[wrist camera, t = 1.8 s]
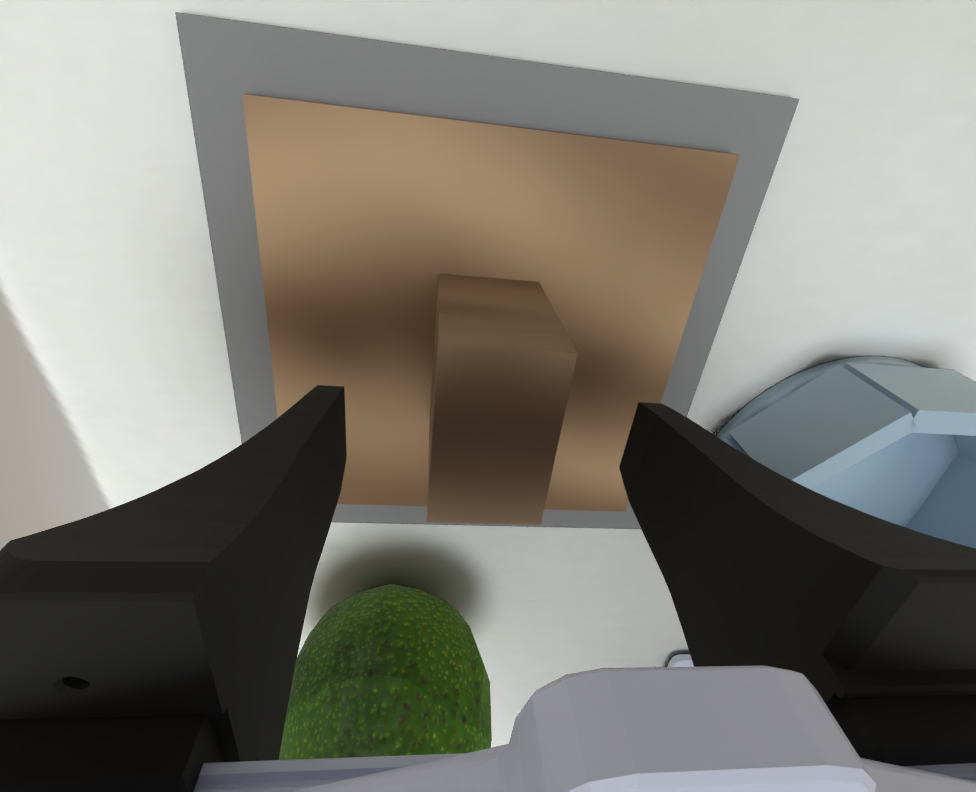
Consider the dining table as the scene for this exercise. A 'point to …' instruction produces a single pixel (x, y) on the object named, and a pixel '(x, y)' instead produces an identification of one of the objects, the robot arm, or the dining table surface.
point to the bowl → (873, 440)
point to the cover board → (472, 220)
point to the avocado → (388, 681)
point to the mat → (463, 96)
